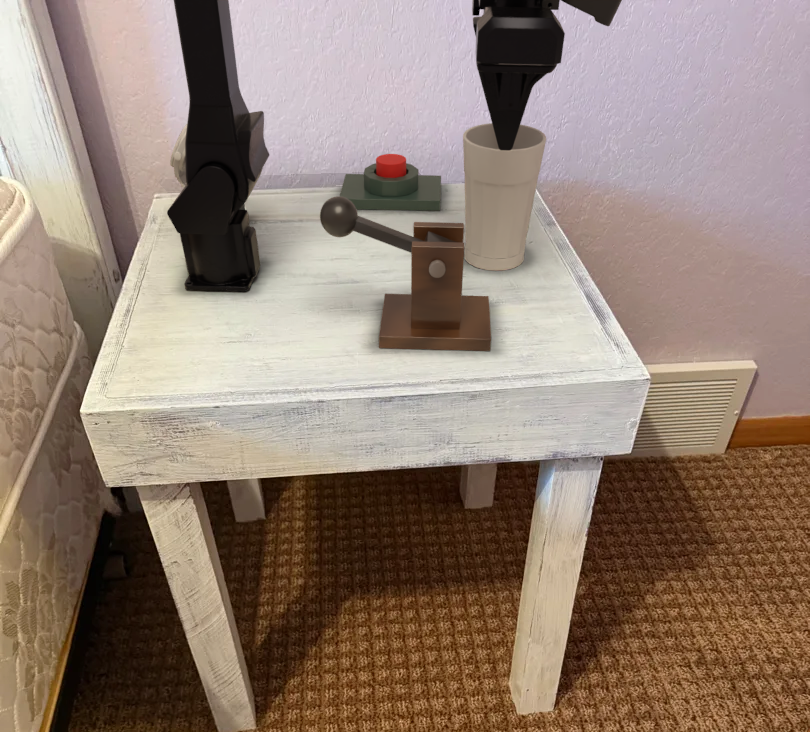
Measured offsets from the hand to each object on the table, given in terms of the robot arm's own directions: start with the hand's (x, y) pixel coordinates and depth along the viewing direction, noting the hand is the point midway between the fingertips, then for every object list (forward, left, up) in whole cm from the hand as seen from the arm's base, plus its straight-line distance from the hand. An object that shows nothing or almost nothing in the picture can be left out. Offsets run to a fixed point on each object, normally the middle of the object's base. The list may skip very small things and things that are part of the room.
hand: (502, 131), depth 67 cm
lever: (-10, -9, -7) cm, 15 cm away
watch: (-30, +12, -15) cm, 36 cm away
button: (-11, +22, -12) cm, 28 cm away
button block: (-11, +22, -14) cm, 29 cm away
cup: (+1, +6, -15) cm, 16 cm away
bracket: (-5, -9, -14) cm, 18 cm away
